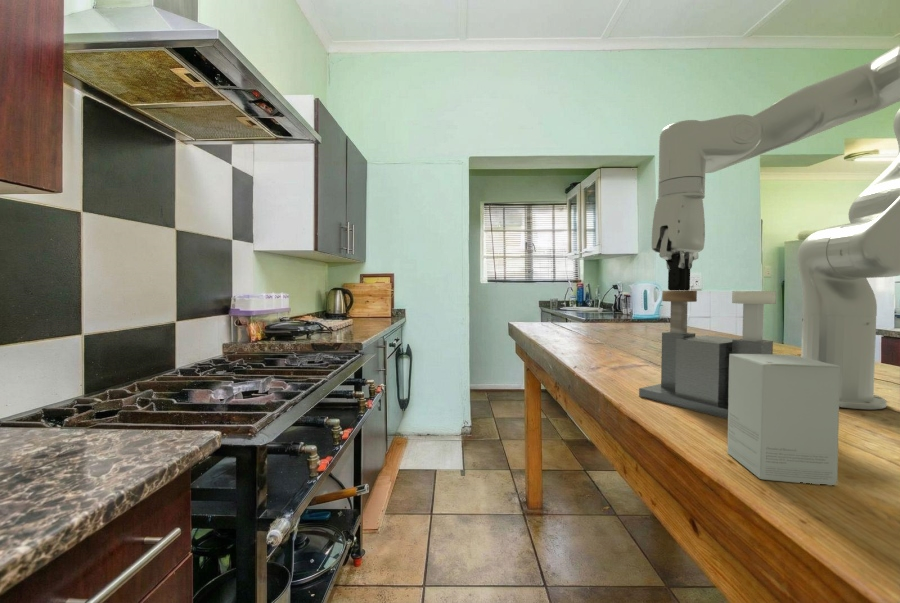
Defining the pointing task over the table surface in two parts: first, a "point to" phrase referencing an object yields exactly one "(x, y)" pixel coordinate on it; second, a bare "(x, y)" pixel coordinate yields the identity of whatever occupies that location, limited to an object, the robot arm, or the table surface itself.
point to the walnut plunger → (679, 308)
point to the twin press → (699, 371)
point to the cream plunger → (753, 311)
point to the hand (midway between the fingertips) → (678, 290)
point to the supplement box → (784, 417)
